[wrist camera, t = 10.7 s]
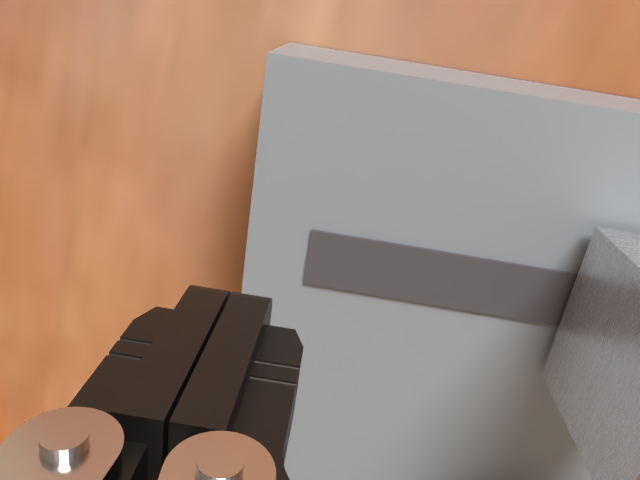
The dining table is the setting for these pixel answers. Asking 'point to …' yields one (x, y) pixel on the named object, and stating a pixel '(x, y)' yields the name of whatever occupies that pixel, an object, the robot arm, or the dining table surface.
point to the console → (429, 257)
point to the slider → (602, 357)
